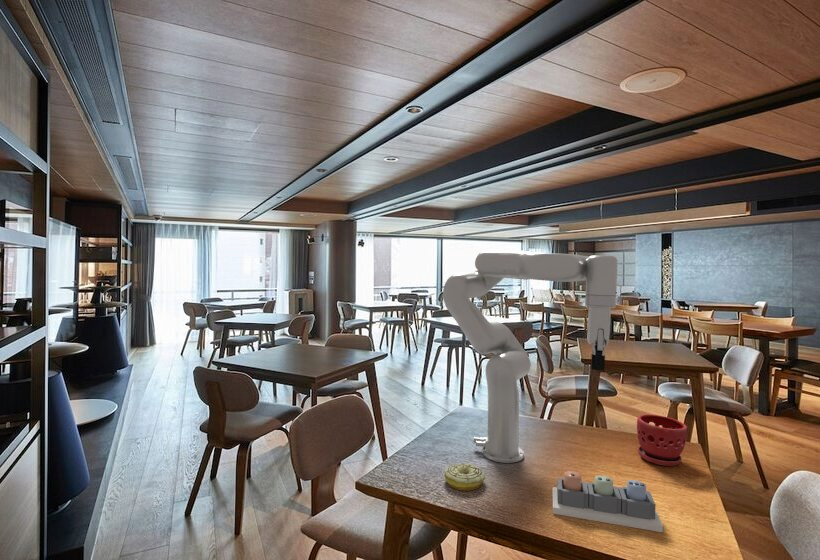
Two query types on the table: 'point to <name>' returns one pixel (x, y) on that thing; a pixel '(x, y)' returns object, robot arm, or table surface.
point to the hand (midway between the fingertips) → (597, 369)
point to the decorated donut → (464, 476)
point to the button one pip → (572, 481)
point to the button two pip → (603, 486)
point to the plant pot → (661, 439)
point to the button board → (606, 506)
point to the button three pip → (636, 490)
